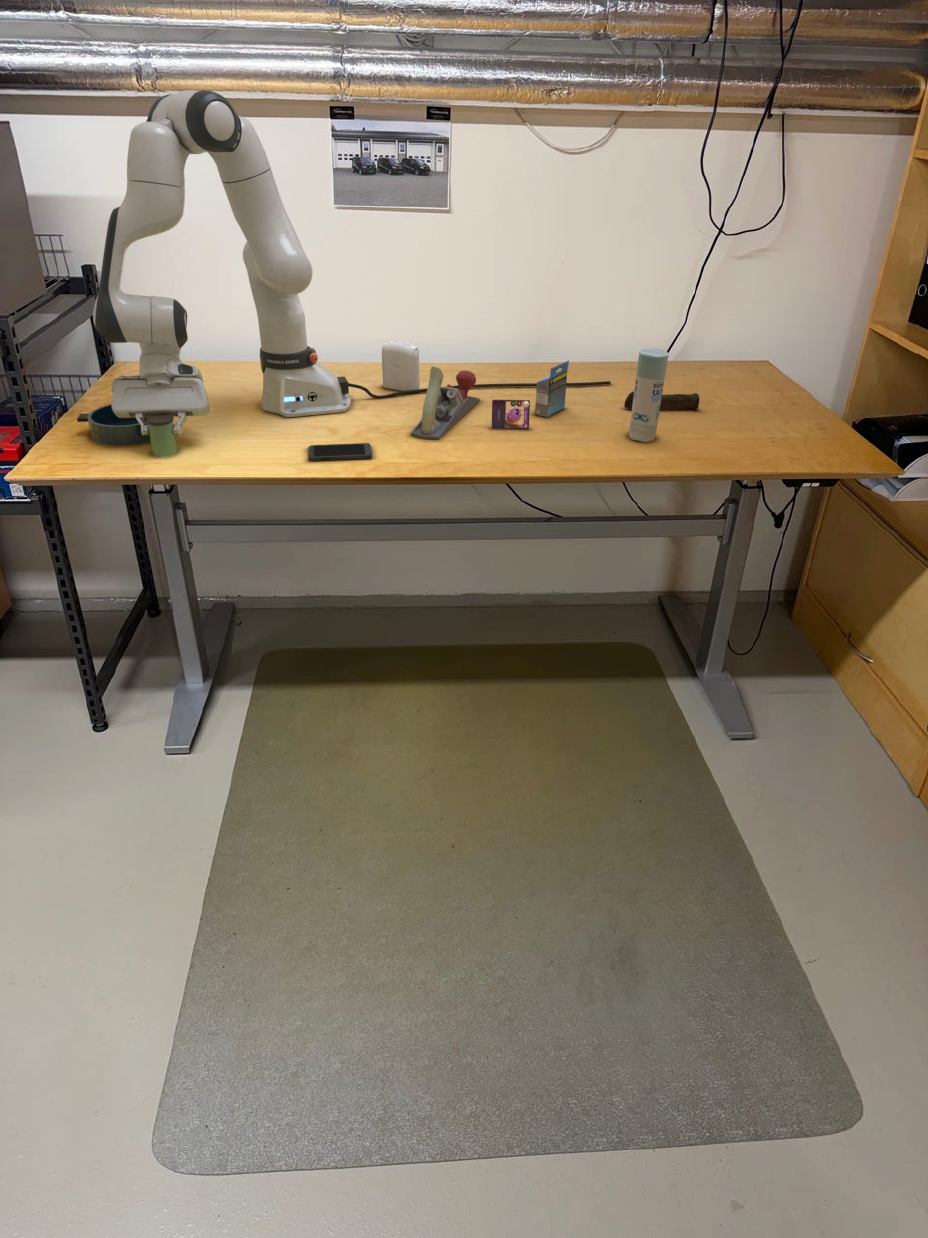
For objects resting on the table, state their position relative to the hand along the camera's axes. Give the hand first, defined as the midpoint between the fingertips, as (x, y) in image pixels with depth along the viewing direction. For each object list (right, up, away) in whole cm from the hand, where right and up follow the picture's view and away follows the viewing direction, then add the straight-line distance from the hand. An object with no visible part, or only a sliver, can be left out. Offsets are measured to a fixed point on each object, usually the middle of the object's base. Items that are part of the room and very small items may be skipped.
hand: (161, 433), depth 187 cm
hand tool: (+116, +13, +34) cm, 122 cm away
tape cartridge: (+87, +12, +31) cm, 93 cm away
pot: (-12, +3, +13) cm, 17 cm away
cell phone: (+38, -3, +5) cm, 39 cm away
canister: (0, -4, +3) cm, 5 cm away
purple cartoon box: (+77, +6, +22) cm, 80 cm away
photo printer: (+49, +21, +43) cm, 68 cm away
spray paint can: (+108, +3, +17) cm, 109 cm away
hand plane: (+62, +10, +26) cm, 67 cm away
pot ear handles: (-12, +6, +11) cm, 17 cm away
